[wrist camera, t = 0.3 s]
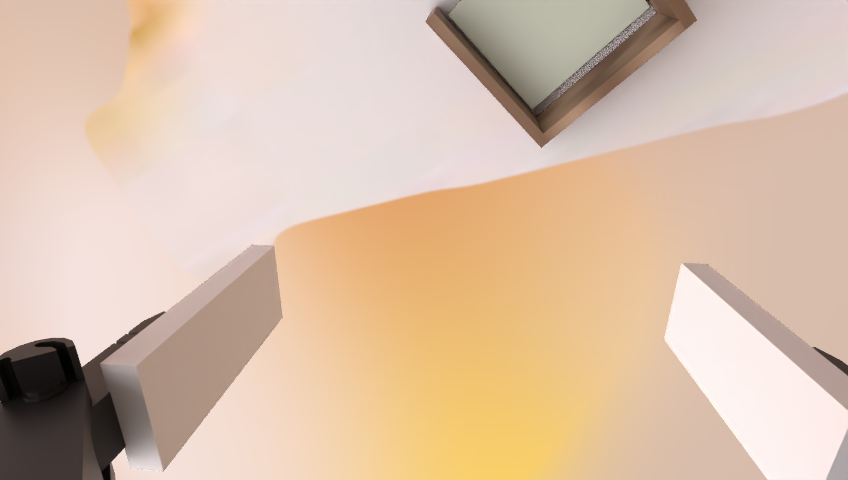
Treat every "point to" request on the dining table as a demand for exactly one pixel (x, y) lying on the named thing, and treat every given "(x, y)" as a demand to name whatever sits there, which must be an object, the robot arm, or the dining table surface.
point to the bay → (555, 50)
